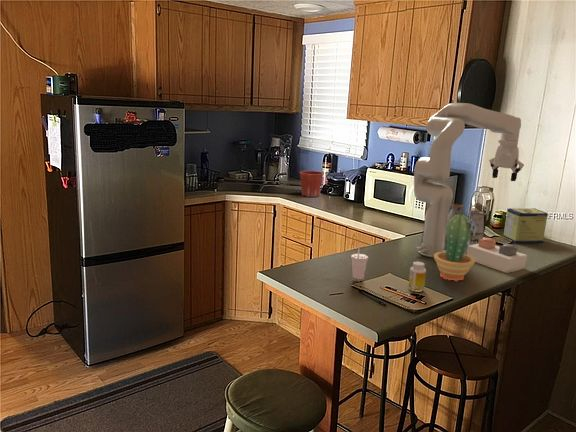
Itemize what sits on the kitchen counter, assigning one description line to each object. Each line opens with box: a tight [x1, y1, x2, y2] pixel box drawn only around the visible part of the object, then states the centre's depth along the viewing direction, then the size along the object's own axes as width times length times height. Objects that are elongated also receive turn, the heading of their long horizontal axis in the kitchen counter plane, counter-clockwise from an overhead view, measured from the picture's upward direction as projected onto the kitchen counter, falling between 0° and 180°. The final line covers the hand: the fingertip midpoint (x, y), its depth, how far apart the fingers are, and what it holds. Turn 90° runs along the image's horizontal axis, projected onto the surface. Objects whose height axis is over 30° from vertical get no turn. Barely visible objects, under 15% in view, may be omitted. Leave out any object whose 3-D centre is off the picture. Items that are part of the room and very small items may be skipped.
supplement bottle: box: [408, 261, 427, 291], centre depth 175 cm, size 6×6×10 cm
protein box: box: [503, 207, 549, 244], centre depth 243 cm, size 10×16×16 cm
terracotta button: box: [479, 237, 497, 250], centre depth 211 cm, size 5×5×6 cm
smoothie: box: [350, 244, 369, 279], centre depth 182 cm, size 6×6×14 cm
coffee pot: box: [447, 203, 464, 223], centre depth 257 cm, size 21×12×15 cm, turn 164°
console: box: [466, 244, 528, 274], centre depth 208 cm, size 12×20×6 cm, turn 32°
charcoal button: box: [499, 243, 518, 256], centre depth 203 cm, size 5×5×6 cm
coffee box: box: [466, 210, 488, 247], centre depth 232 cm, size 9×6×16 cm
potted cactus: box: [433, 214, 477, 282], centre depth 188 cm, size 15×15×25 cm
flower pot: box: [299, 170, 324, 198], centre depth 334 cm, size 16×16×16 cm
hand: (503, 179), depth 235 cm, fingers open, 9 cm apart
